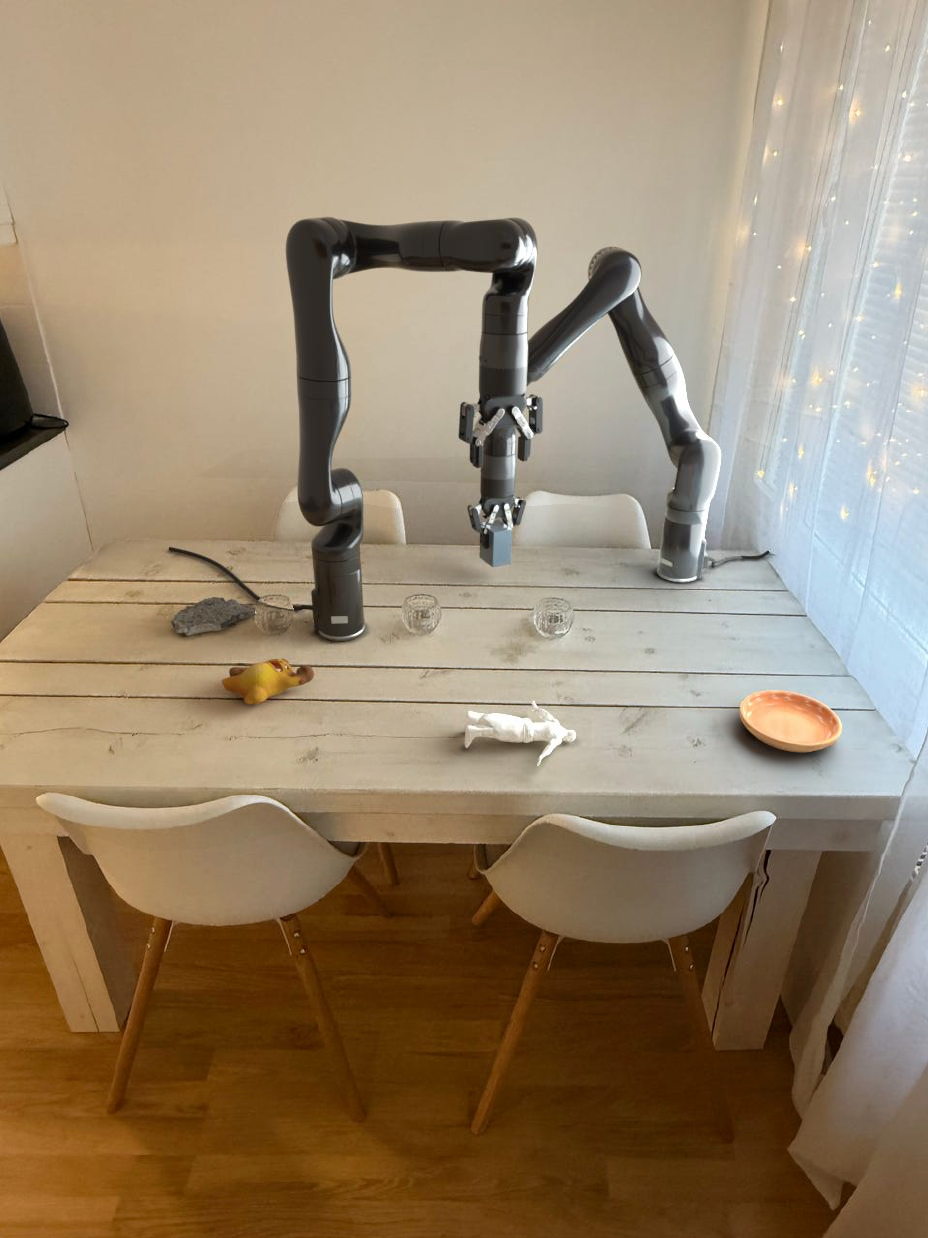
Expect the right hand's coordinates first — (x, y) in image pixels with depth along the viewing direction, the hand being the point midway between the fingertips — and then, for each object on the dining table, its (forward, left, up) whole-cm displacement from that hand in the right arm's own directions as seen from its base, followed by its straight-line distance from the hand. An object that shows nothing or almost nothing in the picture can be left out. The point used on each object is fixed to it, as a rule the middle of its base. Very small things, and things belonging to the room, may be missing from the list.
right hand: (495, 545), depth 183 cm
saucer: (-43, +61, -8) cm, 75 cm away
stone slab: (+60, +18, -8) cm, 64 cm away
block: (0, 0, -4) cm, 4 cm away
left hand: (+4, +39, +31) cm, 50 cm away
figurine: (+2, +61, -8) cm, 62 cm away
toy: (+45, +44, -8) cm, 64 cm away
